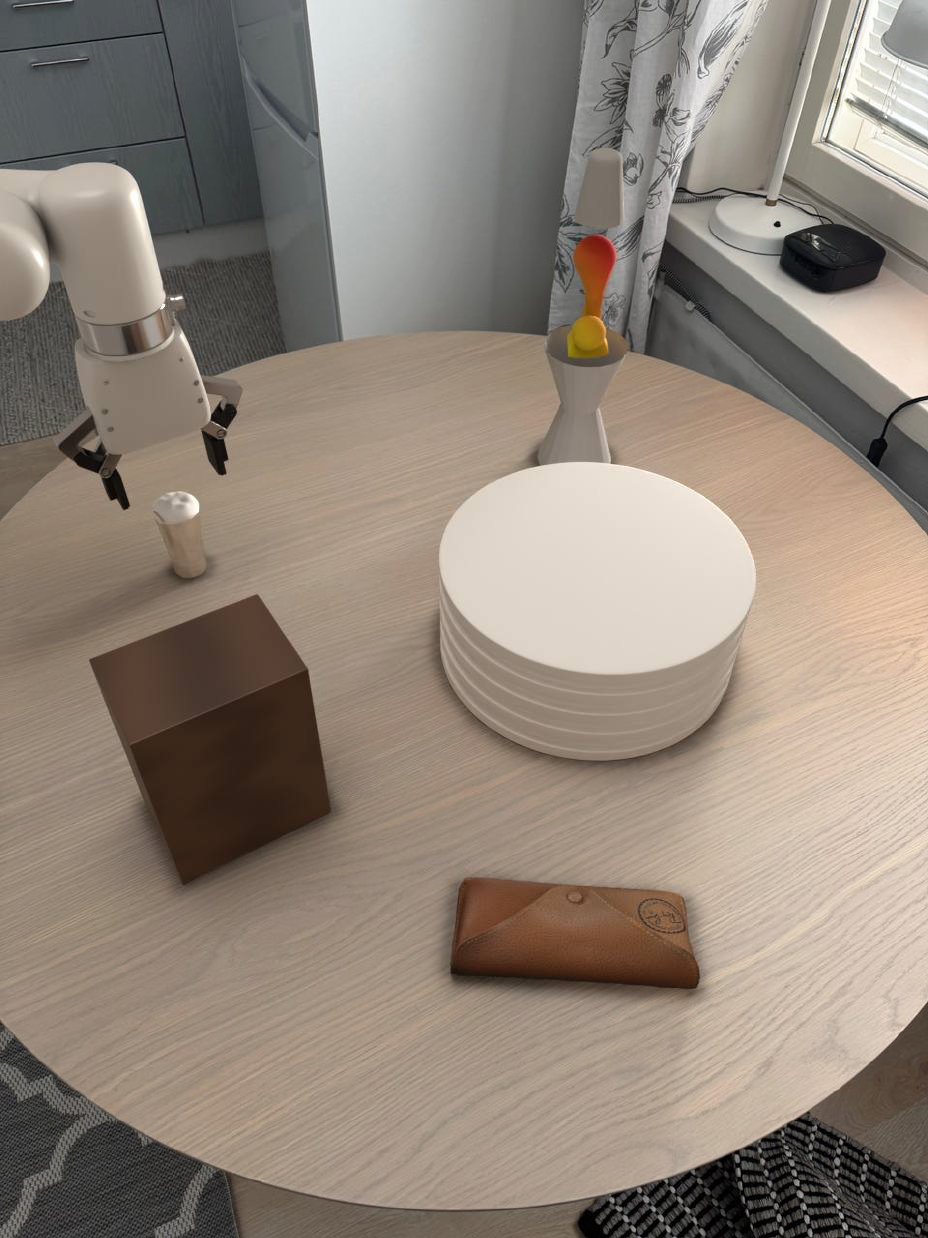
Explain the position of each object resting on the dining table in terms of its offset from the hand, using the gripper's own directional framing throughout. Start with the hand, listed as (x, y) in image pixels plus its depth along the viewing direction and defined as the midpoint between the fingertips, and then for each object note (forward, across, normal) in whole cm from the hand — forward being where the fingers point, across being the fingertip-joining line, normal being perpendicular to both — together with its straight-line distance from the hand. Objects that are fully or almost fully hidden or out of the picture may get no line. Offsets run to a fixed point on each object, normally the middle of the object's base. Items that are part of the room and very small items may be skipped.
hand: (170, 484), depth 96 cm
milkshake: (+11, +1, 0) cm, 11 cm away
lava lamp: (+12, -45, +5) cm, 47 cm away
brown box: (+11, +8, +30) cm, 33 cm away
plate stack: (+12, -28, +30) cm, 43 cm away
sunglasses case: (+12, -9, +54) cm, 56 cm away
